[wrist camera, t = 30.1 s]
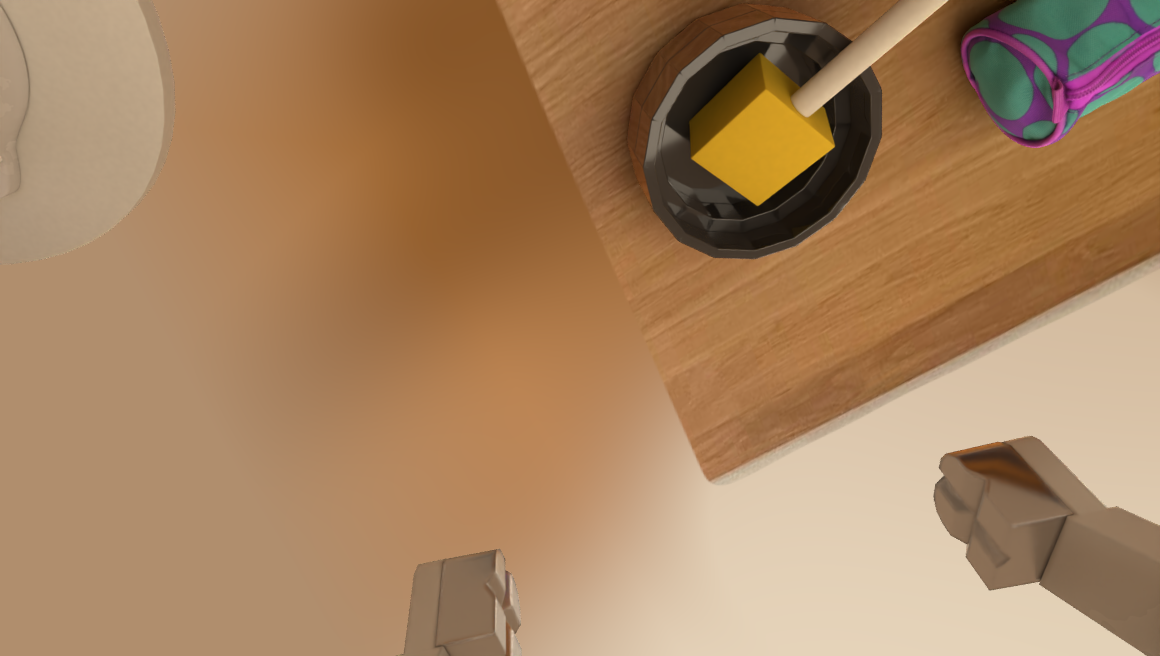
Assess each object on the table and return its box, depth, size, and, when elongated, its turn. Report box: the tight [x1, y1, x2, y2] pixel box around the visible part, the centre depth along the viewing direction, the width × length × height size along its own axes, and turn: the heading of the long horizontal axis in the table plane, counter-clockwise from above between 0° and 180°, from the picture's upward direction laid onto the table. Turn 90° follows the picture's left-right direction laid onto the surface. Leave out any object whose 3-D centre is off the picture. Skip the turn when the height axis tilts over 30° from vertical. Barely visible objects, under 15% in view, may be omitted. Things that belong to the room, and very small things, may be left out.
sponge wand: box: [689, 0, 948, 206], centre depth 35 cm, size 19×6×4 cm, turn 145°
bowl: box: [627, 3, 882, 259], centre depth 40 cm, size 14×14×6 cm
